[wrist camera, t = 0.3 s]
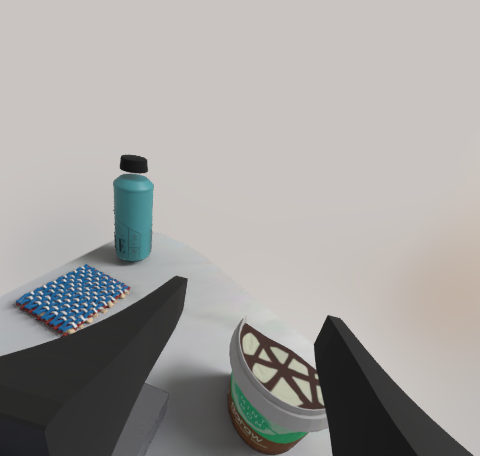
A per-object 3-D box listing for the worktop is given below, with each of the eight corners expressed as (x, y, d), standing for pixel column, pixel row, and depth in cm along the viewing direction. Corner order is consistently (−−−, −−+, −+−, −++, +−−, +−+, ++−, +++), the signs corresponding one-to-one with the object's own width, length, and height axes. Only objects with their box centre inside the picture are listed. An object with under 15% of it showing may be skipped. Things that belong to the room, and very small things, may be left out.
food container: (193, 411, 24) (207, 352, 20) (225, 367, 29) (242, 312, 25) (299, 512, 19) (348, 463, 15) (316, 438, 24) (356, 386, 20)
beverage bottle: (157, 255, 47) (164, 159, 38) (136, 273, 41) (139, 164, 32) (130, 245, 48) (131, 150, 39) (106, 261, 42) (100, 152, 33)
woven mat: (134, 294, 37) (134, 284, 36) (68, 344, 28) (66, 333, 27) (87, 269, 40) (86, 260, 39) (13, 308, 31) (10, 297, 30)
